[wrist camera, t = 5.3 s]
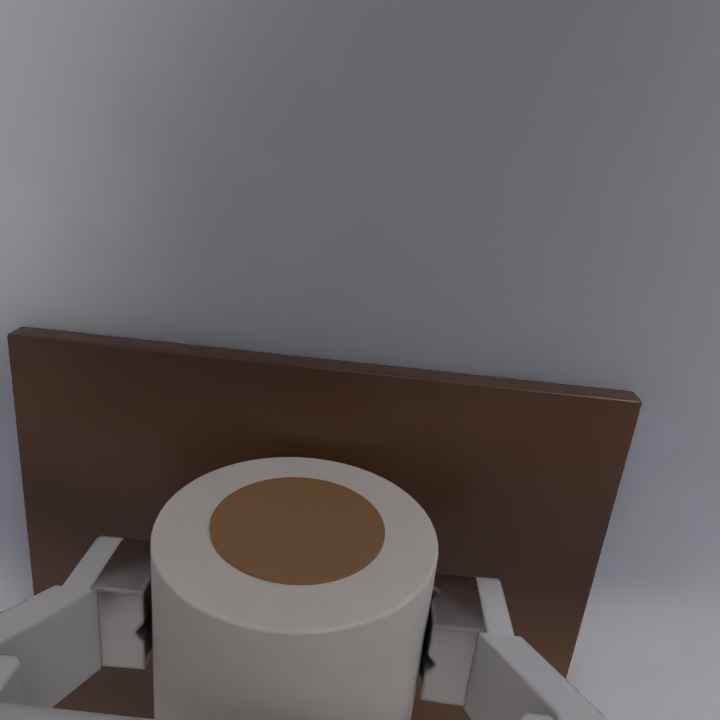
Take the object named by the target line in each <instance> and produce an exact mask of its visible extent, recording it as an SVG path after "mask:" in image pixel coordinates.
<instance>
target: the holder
mask: <svg viewBox="0 0 720 720" xmlns="http://www.w3.org/2000/svg"><path fill="white" fill-rule="evenodd" d="M7 337H8V347H9V356H10V366H11V376H12V385H13V395H14V405H15V414H16V424H17V434H18V444H19V453H20V463H21V473H22V482H23V492H24V502H25V511H26V521H27V531H28V540H29V550H30V560H31V569H32V579H33V589H34V596H35V595H37V594H39V593H41V592H43V591H45V590H47V589H49V588H51V587H53V586H55V585H56V586H62V585H63V584H64V583H65V581H66V580H67V578H68V577H69V576H70V574H71V573H72V572H73V570H74V569H75V567H76V566H77V565H78V563H79V562H80V561H81V559H82V558H83V556H84V555H85V554H86V552H87V551H88V550H89V548H90V547H91V545H92V544H93V543H94V541H95V540H96V539H97V538H98V537H100V536H102V535H103V536H111V537H119V538H124V539H125V538H129V539H136V540H144V541H151V534H152V530H153V526H154V523H155V521H156V519H157V517H158V515H159V513H160V511H161V510H162V508H163V507H164V506H165V504H166V503H167V501H168V500H169V499H170V498H171V497H172V496H173V495H174V494H175V493H176V492H178V491H179V490H180V489H182V488H183V487H184V486H186V485H187V484H189V483H190V482H192V481H194V480H195V479H197V478H199V477H201V476H203V475H205V474H207V473H209V472H211V471H214V470H217V469H220V468H222V467H225V466H229V465H232V464H236V463H240V462H245V461H250V460H256V459H264V458H277V457H303V458H315V459H322V460H329V461H334V462H339V463H344V464H347V465H351V466H354V467H358V468H361V469H363V470H366V471H369V472H371V473H374V474H376V475H378V476H380V477H382V478H384V479H386V480H388V481H390V482H391V483H393V484H395V485H397V486H398V487H399V488H401V489H402V490H404V491H405V492H406V493H408V494H409V495H410V496H411V497H412V498H413V499H414V500H416V501H417V503H418V504H419V505H420V506H421V507H422V508H423V509H424V511H425V512H426V514H427V515H428V517H429V518H430V520H431V522H432V525H433V527H434V529H435V532H436V536H437V541H438V561H437V567H436V573H437V574H446V575H456V576H465V577H485V578H497V579H499V580H500V581H501V584H502V588H503V592H504V596H505V600H506V604H507V608H508V612H509V616H510V620H511V624H512V628H513V632H514V636H518V637H522V638H523V639H524V640H525V641H526V642H527V643H528V644H529V645H531V646H532V647H533V648H534V649H535V650H536V651H537V652H538V653H539V654H540V655H541V656H542V657H543V658H544V659H545V660H546V661H547V662H548V663H549V664H550V665H551V666H553V667H554V668H555V669H556V670H557V671H558V672H559V673H560V674H561V675H562V676H563V677H564V678H565V679H566V676H567V673H568V669H569V665H570V662H571V658H572V655H573V651H574V647H575V644H576V640H577V636H578V633H579V629H580V625H581V622H582V618H583V615H584V611H585V607H586V604H587V600H588V596H589V593H590V589H591V586H592V582H593V578H594V575H595V571H596V567H597V564H598V560H599V556H600V553H601V549H602V546H603V542H604V538H605V535H606V531H607V527H608V524H609V520H610V516H611V513H612V509H613V506H614V502H615V498H616V495H617V491H618V487H619V484H620V480H621V476H622V473H623V469H624V466H625V462H626V458H627V455H628V451H629V447H630V444H631V440H632V437H633V433H634V429H635V426H636V422H637V418H638V415H639V411H640V407H641V404H642V403H641V400H640V399H639V398H638V397H637V396H636V395H635V394H634V393H633V392H630V391H620V390H611V389H602V388H592V387H583V386H573V385H564V384H555V383H545V382H536V381H526V380H517V379H507V378H498V377H489V376H479V375H470V374H460V373H451V372H441V371H432V370H423V369H413V368H404V367H394V366H385V365H376V364H366V363H357V362H347V361H338V360H328V359H319V358H310V357H300V356H291V355H281V354H272V353H263V352H253V351H244V350H234V349H225V348H215V347H206V346H197V345H187V344H178V343H168V342H159V341H149V340H140V339H131V338H121V337H112V336H102V335H93V334H84V333H74V332H65V331H55V330H46V329H36V328H27V327H20V328H19V329H17V330H15V331H13V332H11V333H9V334H8V336H7ZM52 708H58V709H67V710H76V711H85V712H93V713H102V714H111V715H120V716H129V717H138V718H147V719H154V680H153V653H152V655H151V657H150V659H149V662H148V664H147V666H146V668H145V669H134V668H122V667H109V666H101V669H100V670H98V671H97V672H96V673H95V674H93V675H92V676H91V677H90V678H88V679H87V680H86V681H85V682H83V683H82V684H81V685H80V686H78V687H77V688H76V689H75V690H73V691H72V692H71V693H70V694H68V695H67V696H66V697H65V698H63V699H62V700H61V701H60V702H58V703H57V704H56V705H55V706H53V707H52ZM411 720H471V719H470V717H469V716H468V714H467V713H466V711H465V710H464V706H458V705H451V704H444V703H437V702H430V701H423V700H420V684H419V674H418V680H417V686H416V692H415V698H414V704H413V710H412V716H411Z"/></svg>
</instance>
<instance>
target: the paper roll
mask: <svg viewBox="0 0 720 720" xmlns="http://www.w3.org/2000/svg"><path fill="white" fill-rule="evenodd" d="M150 551H151V594H152V637H153V680H154V719H156V720H411V716H412V710H413V704H414V698H415V692H416V686H417V680H418V674H419V668H420V662H421V656H422V650H423V644H424V638H425V632H426V626H427V620H428V614H429V608H430V603H431V597H432V591H433V585H434V579H435V573H436V567H437V561H438V541H437V536H436V532H435V529H434V527H433V525H432V522H431V520H430V518H429V517H428V515H427V514H426V512H425V511H424V509H423V508H422V507H421V506H420V505H419V504H418V503H417V501H416V500H414V499H413V498H412V497H411V496H410V495H409V494H408V493H406V492H405V491H404V490H402V489H401V488H399V487H398V486H397V485H395V484H393V483H391V482H390V481H388V480H386V479H384V478H382V477H380V476H378V475H376V474H374V473H371V472H369V471H366V470H363V469H361V468H358V467H354V466H351V465H347V464H344V463H339V462H334V461H329V460H322V459H315V458H303V457H277V458H264V459H256V460H250V461H245V462H240V463H236V464H232V465H229V466H225V467H222V468H220V469H217V470H214V471H211V472H209V473H207V474H205V475H203V476H201V477H199V478H197V479H195V480H194V481H192V482H190V483H189V484H187V485H186V486H184V487H183V488H182V489H180V490H179V491H178V492H176V493H175V494H174V495H173V496H172V497H171V498H170V499H169V500H168V501H167V503H166V504H165V506H164V507H163V508H162V510H161V511H160V513H159V515H158V517H157V519H156V521H155V523H154V526H153V530H152V534H151V547H150Z"/></svg>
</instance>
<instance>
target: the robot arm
mask: <svg viewBox="0 0 720 720" xmlns="http://www.w3.org/2000/svg"><path fill="white" fill-rule="evenodd" d="M150 547H151V541H144V540H136V539H129V538H125V539H124V538H119V537H111V536H103V535H102V536H100V537H98V538H97V539H96V540H95V541H94V543H93V544H92V545H91V547H90V548H89V550H88V551H87V552H86V554H85V555H84V556H83V558H82V559H81V561H80V562H79V563H78V565H77V566H76V567H75V569H74V570H73V572H72V573H71V574H70V576H69V577H68V578H67V580H66V581H65V583H64V584H63V585H62V586H56V585H55V586H53V587H51V588H49V589H47V590H45V591H43V592H41V593H39V594H37V595H35V596H33V597H31V598H29V599H27V600H25V601H23V602H21V603H19V604H17V605H15V606H13V607H11V608H9V609H7V610H5V611H3V612H1V613H0V720H156V719H147V718H138V717H129V716H120V715H111V714H102V713H93V712H85V711H76V710H67V709H58V708H52V707H53V706H55V705H56V704H57V703H58V702H60V701H61V700H62V699H63V698H65V697H66V696H67V695H68V694H70V693H71V692H72V691H73V690H75V689H76V688H77V687H78V686H80V685H81V684H82V683H83V682H85V681H86V680H87V679H88V678H90V677H91V676H92V675H93V674H95V673H96V672H97V671H98V670H100V669H101V666H109V667H122V668H134V669H145V668H146V666H147V664H148V662H149V659H150V657H151V655H152V653H153V637H152V594H151V551H150ZM419 684H420V700H423V701H430V702H437V703H444V704H451V705H458V706H464V710H465V711H466V713H467V714H468V716H469V717H470V719H471V720H608V719H607V718H606V717H605V716H604V715H603V714H602V713H601V712H600V711H599V710H598V709H597V708H595V707H594V706H593V705H592V704H591V703H590V702H589V701H588V700H587V699H586V698H585V697H584V696H583V695H582V694H581V693H580V692H579V691H578V690H577V689H576V688H575V687H573V686H572V685H571V684H570V683H569V682H568V681H567V680H566V679H565V678H564V677H563V676H562V675H561V674H560V673H559V672H558V671H557V670H556V669H555V668H554V667H553V666H551V665H550V664H549V663H548V662H547V661H546V660H545V659H544V658H543V657H542V656H541V655H540V654H539V653H538V652H537V651H536V650H535V649H534V648H533V647H532V646H531V645H529V644H528V643H527V642H526V641H525V640H524V639H523V638H522V637H518V636H514V632H513V628H512V624H511V620H510V616H509V612H508V608H507V604H506V600H505V596H504V592H503V588H502V584H501V581H500V580H499V579H497V578H485V577H465V576H456V575H446V574H437V573H435V579H434V585H433V591H432V597H431V603H430V608H429V614H428V620H427V626H426V632H425V638H424V644H423V650H422V656H421V662H420V668H419Z"/></svg>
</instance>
